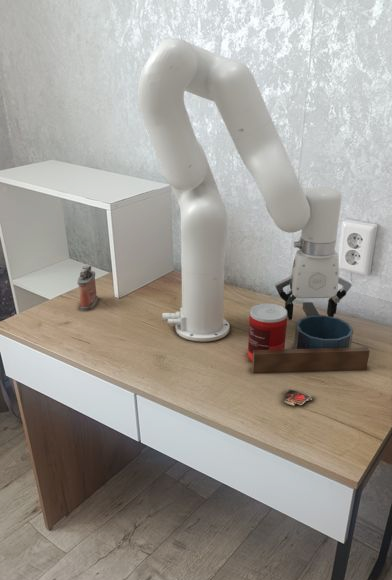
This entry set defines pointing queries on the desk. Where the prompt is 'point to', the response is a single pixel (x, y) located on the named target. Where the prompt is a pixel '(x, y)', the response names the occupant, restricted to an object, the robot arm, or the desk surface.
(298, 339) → the saucepan
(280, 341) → the canned food
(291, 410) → the desk surface
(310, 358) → the wooden board
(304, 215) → the robot arm
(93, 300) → the lighter
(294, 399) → the mottled red brown piece
